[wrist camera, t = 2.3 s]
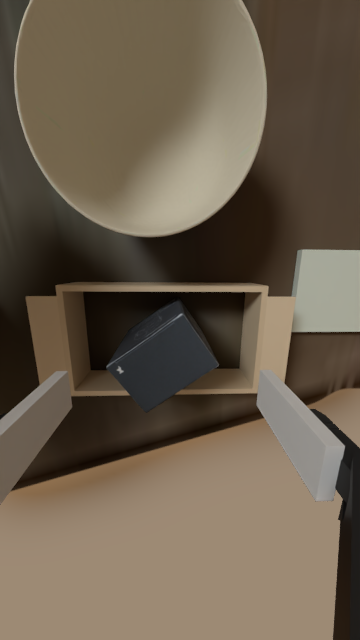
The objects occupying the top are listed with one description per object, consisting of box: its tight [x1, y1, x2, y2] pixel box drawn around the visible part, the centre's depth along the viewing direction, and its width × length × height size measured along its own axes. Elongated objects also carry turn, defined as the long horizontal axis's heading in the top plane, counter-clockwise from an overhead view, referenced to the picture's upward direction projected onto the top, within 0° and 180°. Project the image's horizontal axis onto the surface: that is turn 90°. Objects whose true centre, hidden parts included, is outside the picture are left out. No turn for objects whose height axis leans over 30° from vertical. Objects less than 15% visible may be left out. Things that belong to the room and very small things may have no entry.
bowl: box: [14, 0, 267, 237], centre depth 19 cm, size 16×16×10 cm
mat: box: [291, 250, 360, 332], centre depth 27 cm, size 10×10×1 cm
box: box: [106, 297, 219, 413], centre depth 23 cm, size 8×6×11 cm
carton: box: [25, 282, 296, 396], centre depth 25 cm, size 27×12×5 cm, turn 90°
